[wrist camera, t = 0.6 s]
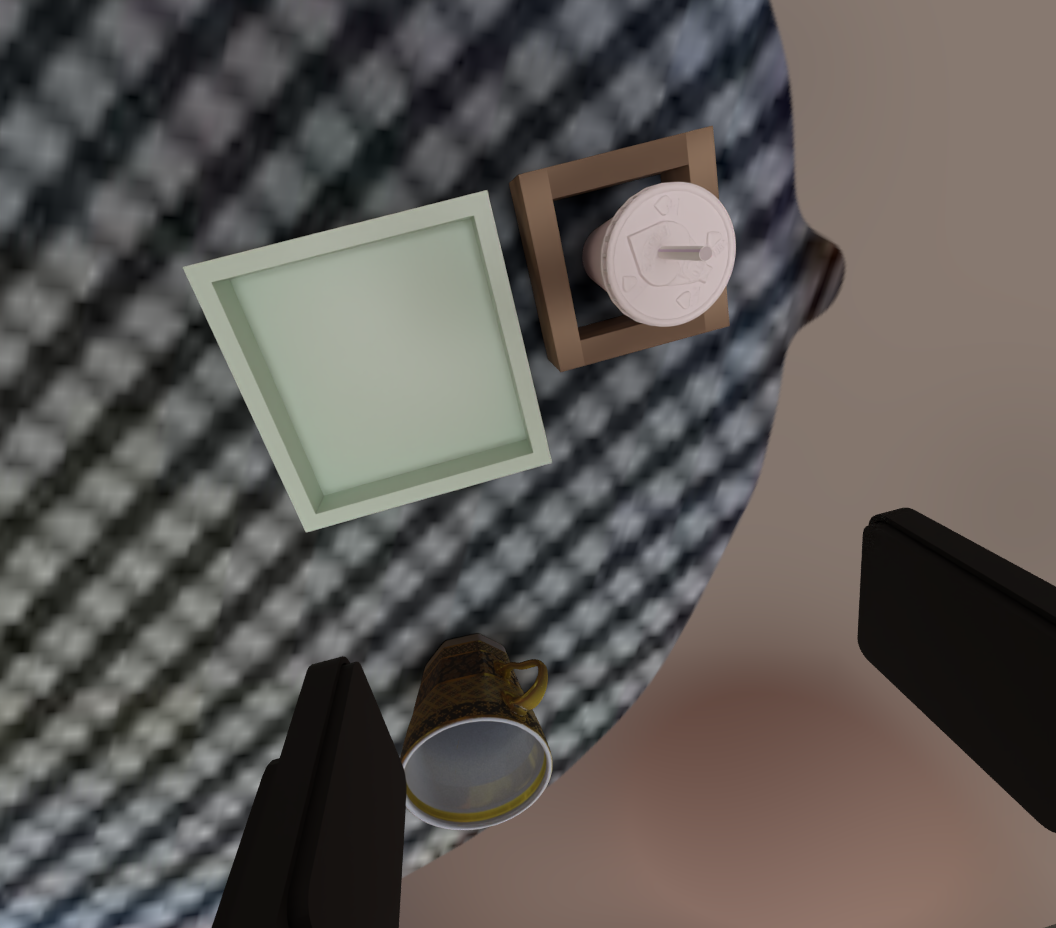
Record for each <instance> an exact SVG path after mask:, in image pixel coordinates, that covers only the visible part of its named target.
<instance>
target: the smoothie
mask: <svg viewBox="0 0 1056 928" xmlns="http://www.w3.org/2000/svg"><path fill="white" fill-rule="evenodd" d="M735 252H736V241H735V233H734V228H733V225H732V222H731V219H730V216H729V214H728V213H727V211H726V209H725V207H724V206H723V204H722V203H721V202H720V201H719V200H718V199H717V198H716V197H715V196H714V195H713V194H712V193H710V192H709V191H708V190H706V189H704V188H702V187H700V186H698V185H695V184H692V183H687V182H669V183H660V184H657V185H653V186H650V187H647V188H644V189H643V190H641V191H640V192H638V193H637V194H635V195H633V196H632V197H630V198H629V199H628V200H627V201H626V202H625V203H624V204H623V205H622V207H621V208H620V209H619V210H618V211H617V212H616V213H615V215H614V217H612V218H611V219H609V220H608V221H607V222H605V223H604V224H602V225H601V226H599V227H598V228H596V229H595V230H594V231H593V232H592V233H591V234H590V235H589V236H588V238H587V240H586V242H585V244H584V247H583V252H582V261H583V266H584V269H585V271H586V273H587V275H588V276H589V277H590V278H591V279H592V280H593V281H594V282H595V283H597V284H598V285H599V286H600V287H602V288H603V289H604V290H605V291H606V292H608V294H609V296H610V298H611V300H612V302H613V303H614V304H615V305H616V306H617V307H618V309H619V310H620V311H621V312H622V313H623V314H625V315H626V316H628V317H630V318H631V319H633V320H634V321H636V322H639V323H643V324H647V325H651V326H659V327H669V326H676V325H680V324H684V323H686V322H689V321H691V320H693V319H695V318H697V317H698V316H700V315H701V314H703V313H704V312H705V311H706V310H708V309H709V308H710V307H711V306H712V305H713V304H714V303H715V301H716V300H717V299H718V298H719V296H720V295H721V293H722V292H723V290H724V289H725V287H726V285H727V283H728V281H729V278H730V276H731V273H732V270H733V266H734V261H735Z"/></svg>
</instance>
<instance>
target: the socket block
mask: <svg viewBox="0 0 1056 928" xmlns="http://www.w3.org/2000/svg"><path fill="white" fill-rule="evenodd" d="M658 174H661V182H662V183H669V182H687V183H692V184H695V185H698V186H700V187H702V188H704V189H706V190H708V191H709V192H710V193H712V194H713V195H714V196H715V197H716V198H717V199H718V200H719V195H718V183H717V171H716V159H715V147H714V135H713V126H709V127H706V128H702V129H698V130H694V131H690V132H686V133H682V134H678V135H674V136H670V137H666V138H662V139H658V140H654V141H650V142H646V143H642V144H638V145H634V146H630V147H626V148H622V149H618V150H614V151H610V152H606V153H602V154H598V155H595V156H591V157H587V158H583V159H579V160H575V161H571V162H567V163H563V164H559V165H555V166H551V167H547V168H543V169H539V170H535V171H531V172H527V173H523V174H519V175H518V176H516V177H515V178H514V179H513V180H512V181H511V182H510V183H509V186H510V191H511V195H512V200H513V204H514V209H515V213H516V218H517V222H518V227H519V231H520V236H521V240H522V245H523V249H524V254H525V258H526V263H527V267H528V272H529V276H530V281H531V285H532V290H533V294H534V299H535V303H536V308H537V312H538V317H539V321H540V326H541V330H542V335H543V339H544V344H545V348H546V353H547V357H548V360H549V361H550V362H551V363H552V364H553V365H554V366H555V367H556V368H557V369H558V370H559V371H560V372H563V371H567V370H570V369H574V368H578V367H581V366H585V365H588V364H592V363H596V362H599V361H603V360H607V359H610V358H614V357H618V356H621V355H625V354H629V353H632V352H636V351H640V350H643V349H647V348H650V347H654V346H658V345H661V344H665V343H669V342H672V341H676V340H680V339H683V338H687V337H691V336H694V335H698V334H702V333H705V332H709V331H712V330H716V329H720V328H723V327H727V326H729V314H728V302H727V290H726V287H725V289H724V290H723V292H722V293H721V295H720V296H719V298H718V299H717V300H716V301H715V303H714V304H713V305H712V306H711V307H710V308H709V309H708V310H706V311H705V312H704V313H703V314H701V315H700V316H698V317H697V318H695V319H693V320H691V321H689V322H686V323H684V324H680V325H676V326H669V327H659V326H651V325H647V324H643V323H639V322H636V321H634V320H633V319H631V318H630V317H628V316H626V315H623V316H619V317H615V318H612V319H608V320H604V321H600V322H597V323H593V324H589V325H586V326H582V327H577V322H576V316H575V311H574V306H573V301H572V296H571V291H570V286H569V281H568V275H567V270H566V265H565V260H564V255H563V250H562V245H561V240H560V235H559V229H558V224H557V219H556V214H555V209H554V204H553V201H556V200H560V199H564V198H568V197H572V196H576V195H580V194H584V193H587V192H591V191H595V190H599V189H603V188H607V187H611V186H615V185H619V184H623V183H626V182H630V181H634V180H638V179H642V178H646V177H650V176H654V175H658Z"/></svg>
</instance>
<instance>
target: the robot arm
mask: <svg viewBox="0 0 1056 928" xmlns="http://www.w3.org/2000/svg"><path fill="white" fill-rule="evenodd" d="M862 543H863V544H862V561H861V581H860V582H861V583H860V600H859V619H858V644H859V647H860V649H861V652H862V653H863V655H864V656H865V657H866V659H867V660H868V661H869V662H870V663H872V665H874V666H875V667H876V668H877V669H878V670H879V671H880V672H881V673H882V674H883V675H884V676H885V677H886V678H887V679H888V680H889V681H890V682H891V683H893V684H894V685H895V686H896V687H897V688H898V689H899V690H900V691H901V692H902V693H903V694H904V695H905V696H906V697H907V698H908V699H909V700H910V701H911V702H913V703H914V704H915V705H916V706H917V707H918V708H919V709H920V710H921V711H922V712H923V713H924V714H925V715H926V716H927V717H928V718H929V719H930V720H931V721H932V722H934V723H935V724H936V725H937V726H938V727H939V728H940V729H941V730H942V731H943V732H944V733H945V734H946V735H947V736H948V737H949V738H950V739H951V740H953V741H954V742H955V743H956V744H957V745H958V746H959V747H960V748H961V749H962V750H963V751H964V752H965V753H966V754H967V755H968V756H969V757H970V758H971V759H973V760H974V761H975V762H976V763H977V764H978V765H979V766H980V767H981V768H982V769H983V770H984V771H985V772H986V773H987V774H988V775H990V777H992V779H994V780H995V781H996V782H997V783H998V784H999V785H1000V786H1001V787H1002V788H1003V789H1004V790H1005V791H1006V792H1007V793H1008V794H1009V795H1010V796H1011V797H1012V798H1014V799H1015V800H1016V801H1017V802H1018V803H1019V804H1020V805H1021V806H1022V807H1023V808H1024V809H1025V810H1026V811H1027V812H1028V813H1029V814H1030V815H1031V816H1033V817H1034V818H1035V819H1036V820H1037V821H1038V822H1039V823H1040V824H1041V825H1043V826H1044V827H1045V828H1047V829H1048V830H1050V831H1052V832H1055V833H1056V587H1055V586H1054V585H1051V584H1050V583H1048V582H1046V581H1044V580H1043V579H1041V578H1039V577H1037V576H1035V575H1033V574H1031V573H1030V572H1028V571H1026V570H1024V569H1022V568H1020V567H1019V566H1017V565H1015V564H1013V563H1011V562H1009V561H1007V560H1006V559H1004V558H1002V557H1000V556H998V555H996V554H995V553H993V552H991V551H989V550H987V549H985V548H984V547H981V546H980V545H978V544H976V543H974V542H972V541H971V540H969V539H967V538H965V537H963V536H961V535H960V534H958V533H956V532H954V531H952V530H950V529H948V528H947V527H945V526H943V525H941V524H939V523H937V522H935V521H934V520H932V519H930V518H928V517H926V516H924V515H923V514H921V513H919V512H917V511H915V510H913V509H910V508H900V509H897V510H893V511H889V512H885V513H881V514H878V515H875V516H873V517H872V518H871V520H870V521H869V525H868V526H866V527H865V529H864V532H863V542H862ZM406 793H407V785H406V776H405V771H404V768H403V765H402V763H401V760H400V758H399V755H398V753H397V751H396V748H395V746H394V743H393V741H392V739H391V736H390V734H389V731H388V729H387V726H386V724H385V722H384V719H383V717H382V714H381V712H380V710H379V707H378V705H377V702H376V700H375V698H374V695H373V693H372V690H371V688H370V686H369V683H368V681H367V678H366V676H365V674H364V671H363V669H362V667H361V665H360V663H359V662H354V663H350V662H349V660H348V659H347V658H346V657H343V656H342V657H339V658H335V659H331V660H327V661H324V662H320V663H316V664H312V665H311V666H309V668H308V670H307V673H306V676H305V679H304V682H303V685H302V689H301V692H300V695H299V698H298V701H297V705H296V708H295V711H294V714H293V717H292V721H291V724H290V727H289V730H288V733H287V737H286V740H285V743H284V746H283V749H282V753H281V756H280V758H279V759H275V760H272V761H271V762H270V763H269V764H268V766H267V767H266V769H265V772H264V774H263V776H262V779H261V782H260V785H259V788H258V791H257V794H256V797H255V800H254V803H253V806H252V809H251V812H250V815H249V818H248V821H247V824H246V827H245V830H244V833H243V836H242V839H241V842H240V845H239V848H238V851H237V854H236V857H235V860H234V863H233V866H232V868H231V871H230V874H229V877H228V880H227V883H226V886H225V889H224V892H223V895H222V898H221V901H220V904H219V907H218V910H217V913H216V916H215V919H214V922H213V925H212V928H399V913H400V896H401V879H402V862H403V845H404V827H405V810H406ZM1045 928H1056V924H1055V925H1051V926H1049V927H1045Z"/></svg>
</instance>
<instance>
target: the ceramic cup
mask: <svg viewBox="0 0 1056 928" xmlns="http://www.w3.org/2000/svg"><path fill="white" fill-rule="evenodd" d="M535 666H538V676H537V678H536V681H535V683H534V684H533V686H532V687H531V688H530V689H529V690H528V691H527V692H526V693H525V694H524V693H523V690H522V688H521V686H520V684H519V682H518V679H517V677H516V675H515V673H514V670H513V669H521V670H522V669H528V668H531V667H535ZM547 680H548V674H547V668H546V666H545V664H544V663H543V662H541V661H539V660H536V659H531V660H527V661H524V662H520V663H516V662H510V661H509V658H508V656H507V653H506V651H505V648H504V647H503V646H502V645H501V644H499V643H497V642H495V641H493V640H491V639H489V638H487V637H485V636H483V635H480V634H473V635H469V636H464V637H460V638H455V639H451V640H447V641H445V642H444V643H443V644H442V645H441V647H440V648H439V649H438V651H437V652H436V653H435V654H434V656H433V657H432V658H431V659H430V661H429V662H428V663H427V665H426V667H425V670H424V674H423V677H422V681H421V685H420V689H419V692H418V696H417V699H416V703H415V707H414V712H413V716H412V719H411V722H410V724H409V727H408V730H407V733H406V737H405V741H404V745H403V749H402V753H401V757H400V760H401V763H402V765H403V768H404V771H405V776H406V785H407V793H406V808H407V809H408V810H409V811H410V812H411V813H412V814H413V815H414V816H416V817H417V818H419V819H420V820H422V821H424V822H426V823H428V824H431V825H434V826H437V827H441V828H446V829H453V830H473V829H481V828H486V827H490V826H494V825H497V824H499V823H502V822H505V821H507V820H509V819H511V818H513V817H515V816H517V815H518V814H520V813H522V812H523V811H524V810H526V809H527V808H528V807H529V806H531V805H532V804H533V803H534V802H535V801H536V800H537V799H538V798H539V797H540V795H541V794H542V793H543V791H544V790H545V788H546V786H547V784H548V782H549V779H550V776H551V772H552V756H551V751H550V749H549V746H548V743H547V741H546V738H545V736H544V733H543V731H542V728H541V726H540V724H539V722H538V720H537V718H536V716H535V714H534V712H533V710H532V709H533V708H535V707H536V706H537V705H538V704H539V703H540V701H541V700H542V698H543V696H544V694H545V691H546V687H547Z"/></svg>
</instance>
